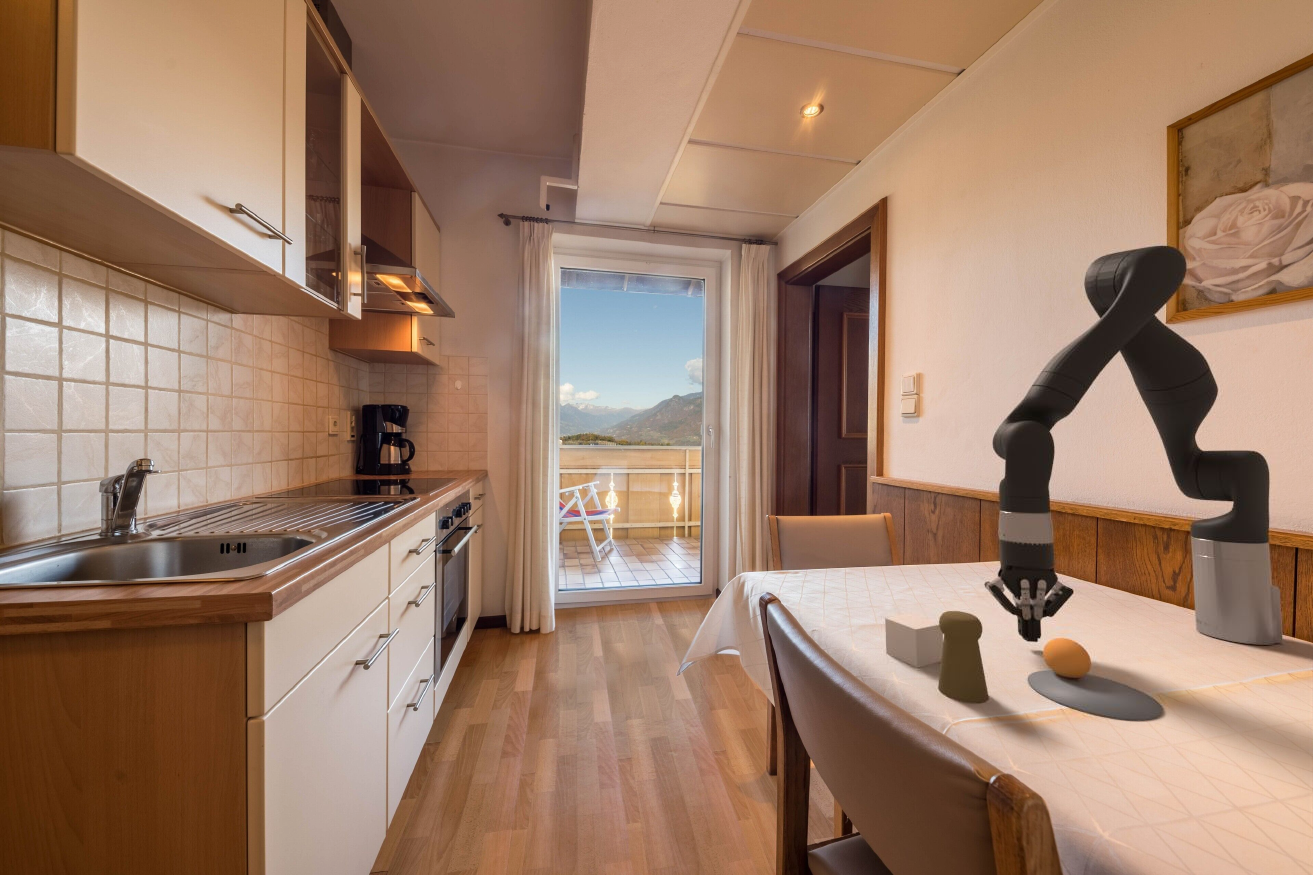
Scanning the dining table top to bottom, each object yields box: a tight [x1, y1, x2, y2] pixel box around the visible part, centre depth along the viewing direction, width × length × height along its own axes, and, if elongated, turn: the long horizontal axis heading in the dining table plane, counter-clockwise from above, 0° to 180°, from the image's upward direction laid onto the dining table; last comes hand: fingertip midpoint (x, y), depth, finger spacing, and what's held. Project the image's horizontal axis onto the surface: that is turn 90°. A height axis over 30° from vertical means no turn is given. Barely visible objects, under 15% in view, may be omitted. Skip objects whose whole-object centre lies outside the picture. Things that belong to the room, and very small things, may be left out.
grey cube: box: [884, 613, 944, 668], centre depth 82 cm, size 6×6×6 cm
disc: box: [1027, 669, 1164, 721], centre depth 68 cm, size 14×14×1 cm
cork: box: [937, 610, 990, 704], centre depth 69 cm, size 6×6×11 cm
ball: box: [1042, 637, 1092, 678], centre depth 74 cm, size 6×6×6 cm
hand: (1030, 639), depth 84 cm, fingers closed
